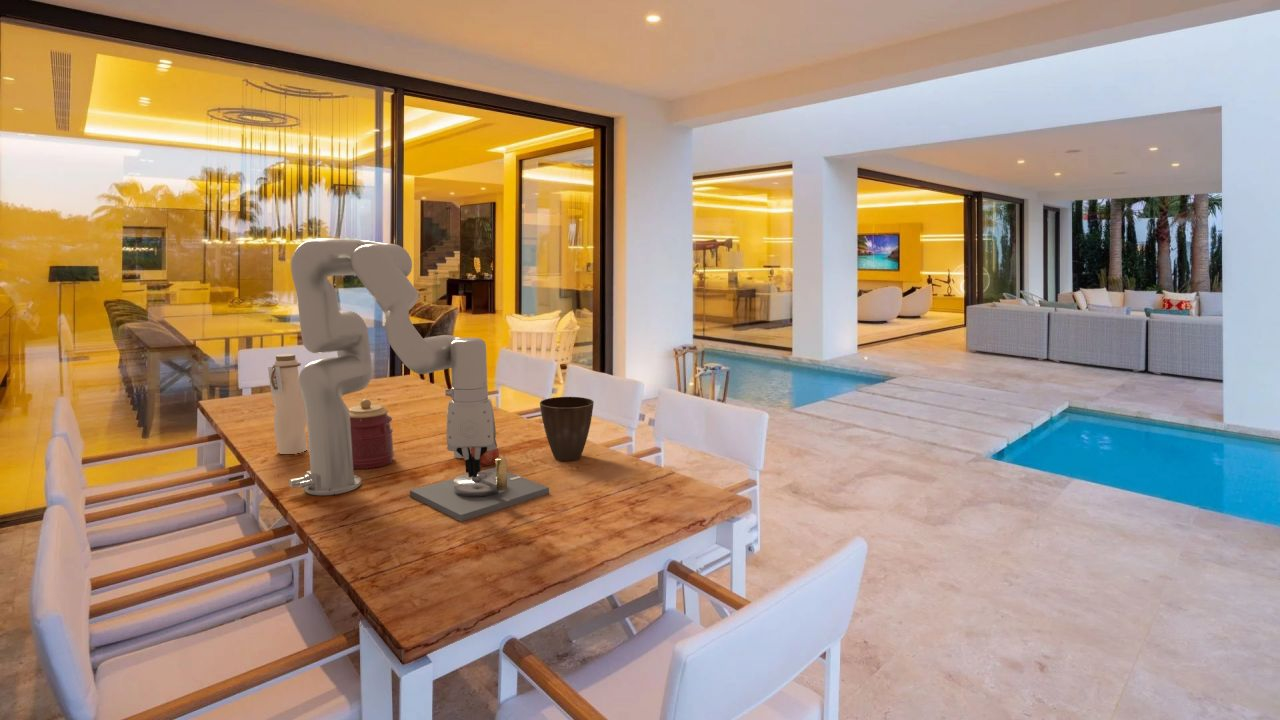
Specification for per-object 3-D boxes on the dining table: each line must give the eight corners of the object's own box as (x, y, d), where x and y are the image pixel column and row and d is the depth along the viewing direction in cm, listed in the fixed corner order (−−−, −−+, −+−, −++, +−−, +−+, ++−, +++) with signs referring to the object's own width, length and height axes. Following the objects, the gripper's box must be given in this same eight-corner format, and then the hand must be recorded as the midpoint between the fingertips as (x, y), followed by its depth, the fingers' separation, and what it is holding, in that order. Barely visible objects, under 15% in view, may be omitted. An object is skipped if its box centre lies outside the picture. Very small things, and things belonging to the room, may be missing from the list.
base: (462, 522, 144) (461, 514, 144) (410, 496, 159) (409, 489, 159) (550, 493, 161) (550, 487, 161) (495, 472, 177) (495, 466, 176)
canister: (404, 460, 187) (401, 397, 184) (364, 473, 176) (360, 406, 173) (373, 452, 193) (370, 392, 191) (332, 464, 182) (328, 400, 180)
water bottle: (298, 457, 189) (290, 358, 184) (266, 457, 189) (258, 358, 184) (316, 447, 199) (309, 353, 194) (286, 446, 199) (278, 352, 194)
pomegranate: (467, 474, 182) (484, 458, 176) (460, 449, 185) (476, 433, 179) (491, 471, 187) (508, 456, 181) (483, 447, 190) (500, 431, 184)
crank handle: (443, 487, 160) (442, 450, 159) (486, 475, 169) (485, 440, 167) (482, 505, 149) (481, 466, 148) (526, 491, 158) (525, 454, 156)
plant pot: (535, 452, 195) (534, 398, 192) (585, 447, 200) (585, 394, 197) (547, 467, 181) (546, 409, 178) (600, 462, 186) (600, 405, 184)
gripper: (431, 398, 143) (435, 481, 146) (502, 397, 144) (505, 480, 147) (438, 391, 151) (442, 470, 154) (506, 390, 152) (509, 469, 155)
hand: (473, 475), depth 150 cm, fingers closed
